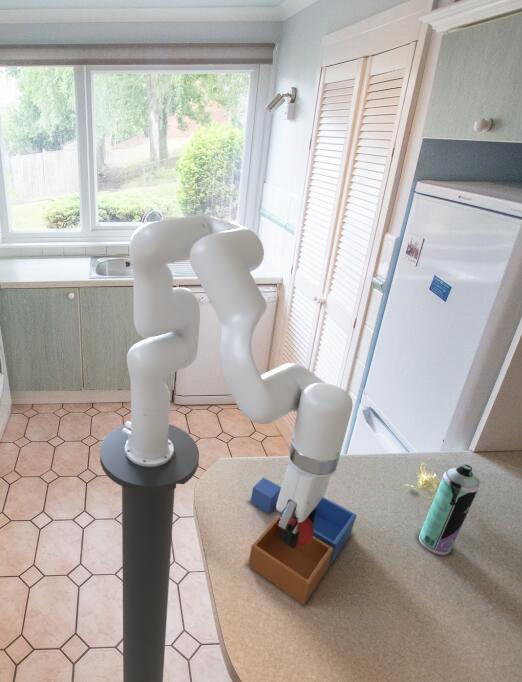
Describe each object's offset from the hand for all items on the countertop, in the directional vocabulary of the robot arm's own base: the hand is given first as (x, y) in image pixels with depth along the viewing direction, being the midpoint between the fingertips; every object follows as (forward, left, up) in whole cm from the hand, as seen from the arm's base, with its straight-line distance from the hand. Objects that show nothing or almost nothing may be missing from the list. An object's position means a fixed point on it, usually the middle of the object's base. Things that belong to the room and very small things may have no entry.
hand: (295, 531), depth 82 cm
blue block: (-11, +11, -10) cm, 19 cm away
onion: (0, 0, -3) cm, 3 cm away
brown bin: (0, 0, -10) cm, 10 cm away
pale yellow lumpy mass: (+15, +39, -10) cm, 43 cm away
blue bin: (0, +11, -10) cm, 15 cm away
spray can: (+19, +26, -10) cm, 33 cm away
